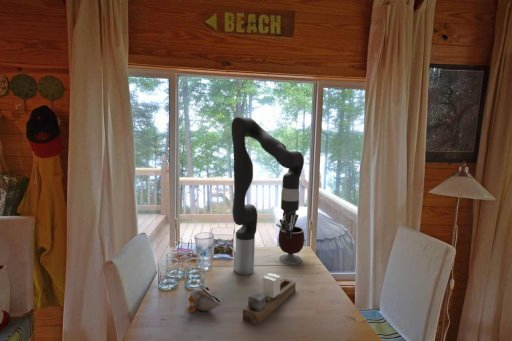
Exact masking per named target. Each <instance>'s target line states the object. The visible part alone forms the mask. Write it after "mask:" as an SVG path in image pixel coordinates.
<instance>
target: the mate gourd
mask: <svg viewBox="0 0 512 341" xmlns="http://www.w3.org/2000/svg"><path fill="white" fill-rule="evenodd" d="M275 226H277V227H278V228H279V231H278V237H277V238H278V246H279V248H280V250H281V251H282V252H283V253H285V254H282V255H279V259H278V260H279V261H280V263H283V264H285V265H286V264H287V265H298V263H299V264H301V263H302V262H303V261H302V260H303V259H302V257H301V256H299V255H296V254H298V253H300V252H301V250H303V247H304V244H305V232H304V228H302V227H300V226H296V225H295V227H293V229H292V236H291V238H290V239H288V238H286V237H285V233H286V230H285V229H283V228H282V226H281V224H278V223H276V224H275ZM301 261H302V262H301Z"/></svg>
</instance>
